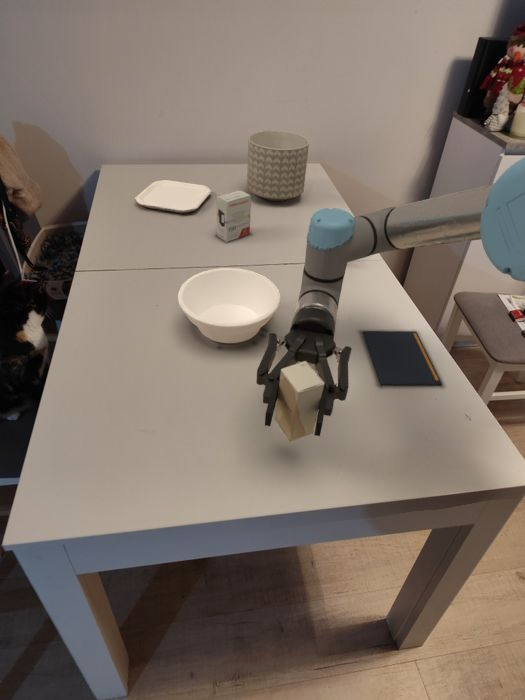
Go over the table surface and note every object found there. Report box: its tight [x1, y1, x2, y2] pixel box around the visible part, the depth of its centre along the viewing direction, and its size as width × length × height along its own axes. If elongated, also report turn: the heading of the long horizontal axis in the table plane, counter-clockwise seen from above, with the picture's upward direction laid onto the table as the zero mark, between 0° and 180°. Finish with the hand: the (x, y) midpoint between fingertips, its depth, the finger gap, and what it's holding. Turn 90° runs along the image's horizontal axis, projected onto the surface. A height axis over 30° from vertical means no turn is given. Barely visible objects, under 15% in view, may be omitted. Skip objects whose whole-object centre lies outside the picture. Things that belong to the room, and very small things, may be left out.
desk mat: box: [362, 330, 443, 386], centre depth 91 cm, size 16×12×1 cm
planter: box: [246, 130, 310, 202], centre depth 145 cm, size 19×19×18 cm
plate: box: [134, 179, 213, 214], centre depth 143 cm, size 21×21×2 cm
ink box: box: [216, 189, 252, 243], centre depth 124 cm, size 9×5×12 cm, turn 130°
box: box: [274, 361, 324, 442], centre depth 64 cm, size 5×4×11 cm
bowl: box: [177, 267, 282, 344], centre depth 94 cm, size 21×21×8 cm
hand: (293, 424), depth 60 cm, fingers closed on box, 6 cm apart
